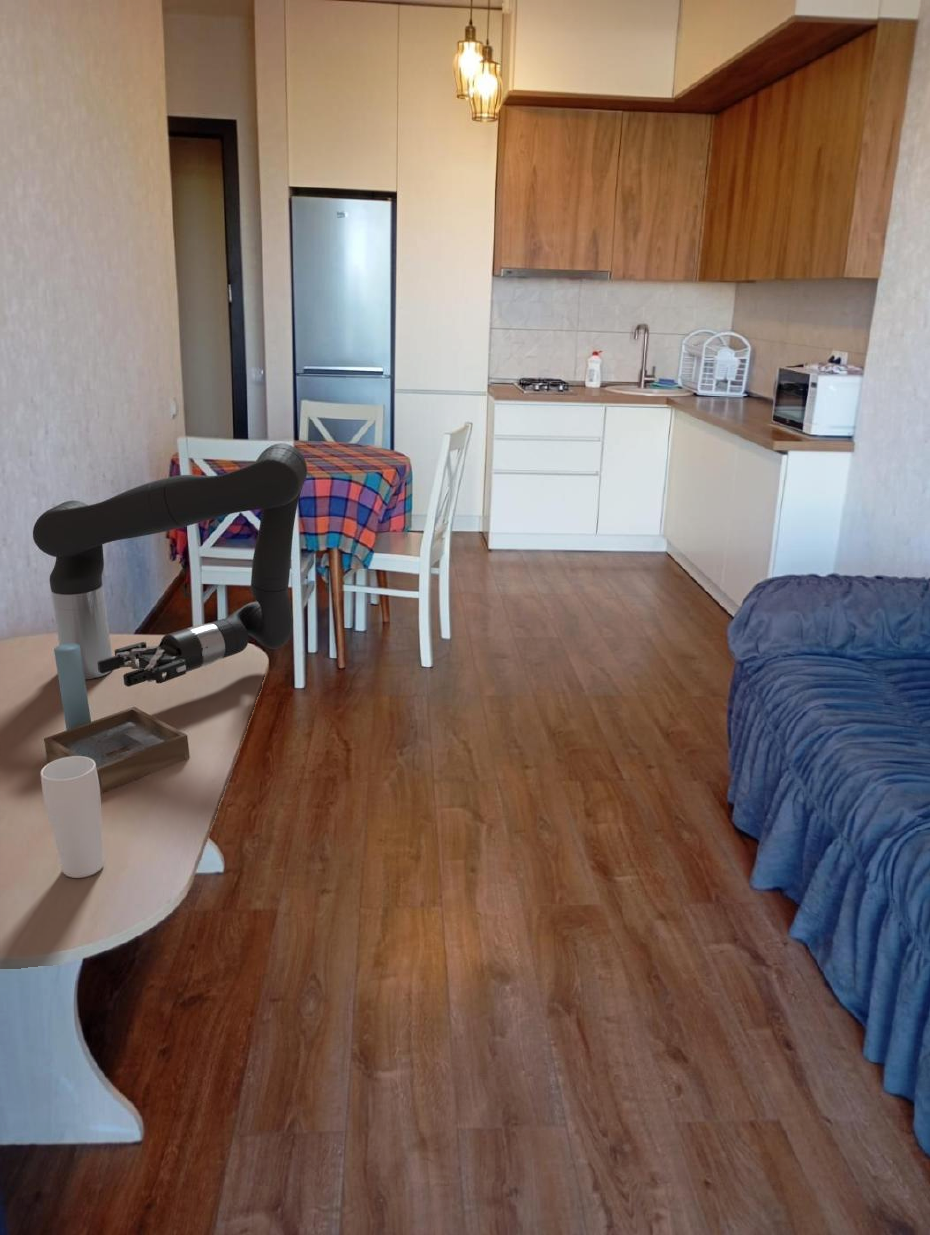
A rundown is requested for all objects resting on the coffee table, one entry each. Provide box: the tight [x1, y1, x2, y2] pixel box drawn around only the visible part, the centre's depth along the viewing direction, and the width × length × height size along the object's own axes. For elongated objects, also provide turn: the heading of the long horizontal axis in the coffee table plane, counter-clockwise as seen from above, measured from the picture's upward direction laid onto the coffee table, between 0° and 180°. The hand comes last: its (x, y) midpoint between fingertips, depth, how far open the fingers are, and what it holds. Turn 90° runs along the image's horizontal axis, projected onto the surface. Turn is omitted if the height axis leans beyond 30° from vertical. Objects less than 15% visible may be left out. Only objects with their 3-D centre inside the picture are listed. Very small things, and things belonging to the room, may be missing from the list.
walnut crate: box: [43, 706, 190, 795], centre depth 160 cm, size 16×16×4 cm
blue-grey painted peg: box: [53, 643, 92, 731], centre depth 166 cm, size 4×4×16 cm
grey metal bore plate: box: [61, 718, 172, 767], centre depth 161 cm, size 14×14×2 cm
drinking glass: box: [40, 756, 105, 879], centre depth 130 cm, size 7×7×15 cm
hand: (111, 674), depth 171 cm, fingers open, 8 cm apart
